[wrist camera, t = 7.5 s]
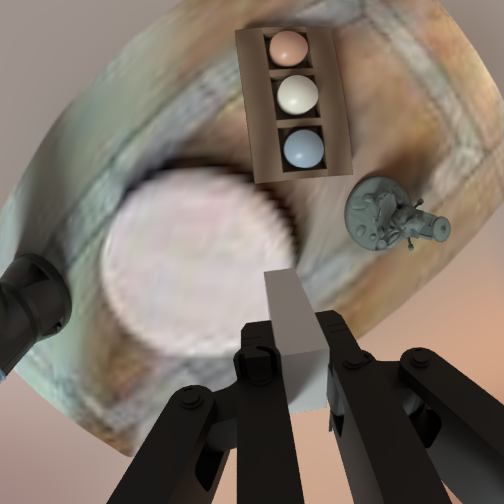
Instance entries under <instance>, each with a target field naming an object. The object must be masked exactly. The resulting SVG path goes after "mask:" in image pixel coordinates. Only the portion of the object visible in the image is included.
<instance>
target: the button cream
mask: <svg viewBox="0 0 504 504" xmlns="http://www.w3.org/2000/svg"><path fill="white" fill-rule="evenodd" d="M276 99H277V103H278V105H279V107H280V108H281V109H282V110H283V111H284V112H286V113H288V114H290V115H301V114H304V113H306V112H307V111H308V110H309V109H311V108H312V107H313V106H314V105H315V104H316V102H317V100H318V90H317V87H316V85H315V84H314V83H313V82H312V81H311V80H310V79H308V78H307V77H304V76H300V75H294V76H290V77H288V78H286V79H285V80H284V81H283V82H282V84H281V85H280V87H279V90H278V92H277V95H276Z"/></svg>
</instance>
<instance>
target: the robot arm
mask: <svg viewBox="0 0 504 504" xmlns="http://www.w3.org/2000/svg"><path fill="white" fill-rule="evenodd" d="M264 279H265V287H266V296H267V304H268V313H269V320H267V321H259V322H251V323H246V324H245V326H244V327H243V329H242V330H241V349H240V350H239V351H238V352H237V353H236V354H235V356H234V358H233V361H234V366H235V371H236V375H237V380H236V381H235V382H234V383H233V384H232V385H230V386H229V387H227V388H224V389H221V390H218V391H215V392H212V391H211V390H210V389H208V388H207V387H204V386H201V385H190V386H186V387H183V388H181V389H179V390H178V391H176V392H175V393H174V394H173V395H172V396H171V398H170V399H169V401H168V403H167V404H166V406H165V408H164V409H163V411H162V413H161V414H160V416H159V418H158V419H157V421H156V423H155V424H154V426H153V428H152V429H151V431H150V433H149V434H148V436H147V437H146V439H145V441H144V442H143V444H142V446H141V447H140V449H139V451H138V452H137V454H136V456H135V457H134V459H133V461H132V462H131V464H130V466H129V467H128V469H127V471H126V472H125V474H124V475H123V477H122V479H121V480H120V482H119V484H118V485H117V487H116V489H115V490H114V492H113V493H112V495H111V497H110V498H109V500H108V502H107V503H106V504H211V503H212V500H213V498H214V495H215V492H216V490H217V487H218V484H219V481H220V479H221V476H222V473H223V470H224V467H225V465H226V462H227V459H228V456H229V453H230V449H234V448H237V504H305V503H304V497H303V491H302V485H301V479H300V473H299V467H298V461H297V455H296V449H295V443H294V437H293V432H292V426H291V420H290V414H293V413H300V412H305V411H312V410H317V409H323V408H326V407H327V399H328V402H329V405H330V408H331V409H330V420H329V432H330V431H332V427H333V431H334V434H335V437H336V440H337V444H338V448H339V451H340V455H341V458H342V462H343V465H344V469H345V472H346V476H347V479H348V483H349V486H350V490H351V494H352V497H353V501H354V504H452V502H451V500H450V498H449V496H448V493H447V491H446V489H445V487H444V485H443V483H442V481H443V482H444V484H445V485H446V486H447V487H448V488H449V489H450V490H451V491H452V493H454V495H455V496H456V497H457V498H458V499H459V500H460V501H461V502H462V503H463V504H504V405H503V404H502V403H500V402H499V401H498V400H497V399H495V398H494V397H493V396H491V395H490V394H489V393H487V392H486V391H485V390H484V389H482V388H481V387H480V386H479V385H477V384H476V383H475V382H473V381H472V380H471V379H469V378H468V377H467V376H465V375H464V374H463V373H462V372H460V371H459V370H458V369H456V368H455V367H454V366H452V365H451V364H450V363H448V362H447V361H446V360H444V359H443V358H442V357H440V356H439V355H438V354H436V353H435V352H433V351H431V350H429V349H426V348H421V347H420V348H412V349H409V350H407V351H405V352H404V353H403V354H402V356H401V358H400V361H378V360H376V359H375V358H374V357H373V356H372V354H371V353H369V352H367V351H364V350H361V349H360V347H359V346H358V343H357V342H356V340H355V338H354V336H353V335H352V333H351V331H350V330H349V328H348V326H347V324H345V321H344V319H343V318H342V316H341V315H340V314H338V313H337V312H335V311H334V310H329V311H323V312H317V313H314V311H313V309H312V306H311V304H310V302H309V300H308V298H307V295H306V293H305V291H304V289H303V286H302V284H301V282H300V280H299V278H298V275H297V273H296V271H295V269H294V268H290V269H282V270H275V271H267V272H264ZM70 315H71V302H70V297H69V293H68V290H67V288H66V285H65V283H64V281H63V279H62V278H61V276H60V275H59V273H58V272H57V270H56V269H55V268H54V267H53V266H52V265H51V264H50V263H49V262H48V261H47V260H45V259H44V258H42V257H40V256H38V255H35V254H25V255H22V256H21V257H19V258H17V259H15V260H14V261H13V262H12V263H11V264H10V265H9V267H8V268H7V269H6V271H5V272H4V274H3V275H2V277H1V278H0V383H1V382H2V381H3V380H5V379H6V376H7V375H8V374H9V373H10V371H11V370H12V369H13V368H14V367H15V366H16V364H17V363H18V362H19V361H20V360H21V359H22V357H23V356H24V355H25V354H26V353H27V352H28V351H29V350H30V348H31V347H32V346H33V345H34V344H35V343H36V342H39V341H41V340H44V339H46V338H49V337H51V336H54V335H56V334H58V333H59V332H60V331H61V330H62V329H63V328H64V327H65V326H66V325H67V323H68V321H69V319H70ZM441 480H442V481H441Z"/></svg>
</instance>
